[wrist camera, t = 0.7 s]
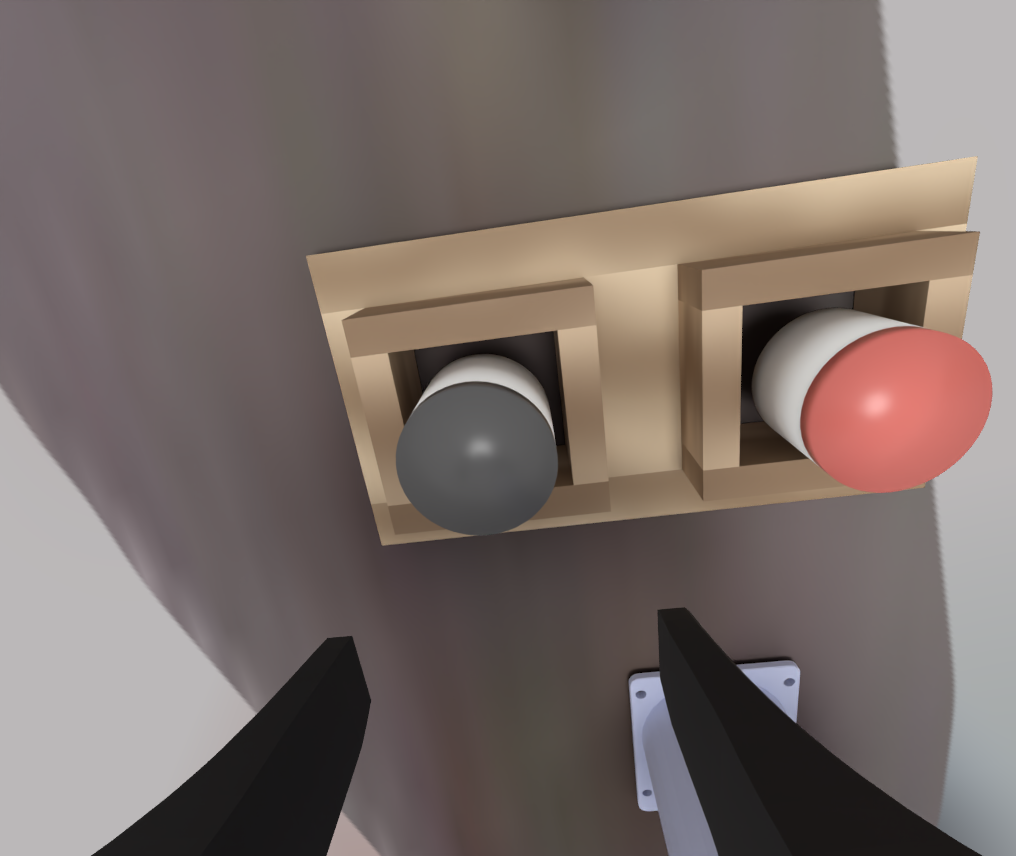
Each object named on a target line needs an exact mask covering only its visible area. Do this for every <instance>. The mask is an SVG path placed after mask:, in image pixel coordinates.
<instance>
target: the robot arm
mask: <svg viewBox="0 0 1016 856" xmlns="http://www.w3.org/2000/svg"><path fill="white" fill-rule="evenodd" d="M658 635H659V664H660V671H658V672H647V673H637V674H634V675H632V676H631V677H630V678H629V694H630V707H631V721H632V734H633V748H634V761H635V774H636V788H637V800H638V805H639V808H640V809H642V810H644V811H658V812H659V816H660V821H661V825H662V829H663V834H664V838H665V842H666V846H667V851H668V855H669V856H982V855H980V854H978V853H977V852H975V851H973V850H972V849H970V848H968V847H967V846H965V845H963V844H962V843H960V842H958V841H957V840H955V839H953V838H952V837H950V836H949V835H947V834H946V833H944V832H942V831H941V830H940V829H938V828H936V827H935V826H933V825H932V824H930V823H929V822H927V821H926V820H924V819H922V818H921V817H919V816H918V815H916V814H915V813H913V812H912V811H910V810H909V809H907V808H906V807H904V806H903V805H902V804H900V803H899V802H897V801H896V800H895V799H893V798H892V797H890V796H889V795H888V794H886V793H885V792H883V791H882V790H881V789H879V788H878V787H876V786H875V785H874V784H872V783H871V782H869V781H868V780H866V779H865V778H864V777H862V776H861V775H859V774H858V773H857V772H855V771H854V770H853V769H852V768H850V767H849V766H848V765H846V764H845V763H844V762H843V761H841V760H840V759H839V758H837V757H836V756H835V755H834V754H832V753H831V752H830V751H829V750H827V749H826V748H825V747H824V746H823V745H821V744H820V743H819V742H818V741H817V740H815V739H814V738H813V737H812V736H810V735H809V734H808V733H807V732H806V731H805V730H803V729H802V728H801V727H800V726H799V725H798V724H797V723H796V721H797V708H798V695H799V682H800V669H799V668H798V666H797V665H796V663H795V662H793V661H788V660H786V661H774V662H762V663H751V664H739V665H736V664H735V663H734V662H733V661H732V660H731V659H730V658H729V657H728V656H727V655H726V654H725V652H724V651H723V650H722V649H721V648H720V647H719V646H718V645H717V644H716V642H715V641H714V640H713V639H712V638H711V637H710V636H709V634H708V633H707V632H706V631H705V630H704V628H703V627H702V626H701V625H700V624H699V622H698V621H697V620H696V619H695V618H694V616H693V615H692V614H691V613H690V611H688V610H687V609H686V608H673V609H661V610H658ZM788 678H789V679H788ZM638 691H641V692H638ZM370 703H371V699H370V695H369V692H368V688H367V685H366V682H365V678H364V675H363V671H362V668H361V665H360V661H359V658H358V654H357V651H356V647H355V644H354V641H353V637H352V636H347V637H335V638H327V639H326V640H325V641H324V642H323V643H322V644H321V645H320V647H319V648H318V649H317V650H316V651H315V652H314V653H313V654H312V655H311V656H310V657H309V659H308V660H307V661H306V662H305V663H304V664H303V665H302V666H301V667H300V668H299V670H298V671H297V672H296V673H295V674H294V675H293V676H292V677H291V678H290V679H289V681H288V682H287V683H286V684H285V685H284V686H283V687H282V688H281V689H280V690H279V691H278V692H277V693H276V695H275V696H274V697H273V698H272V699H271V700H270V701H269V702H268V703H267V704H266V705H265V706H264V707H263V708H262V709H261V711H260V712H259V713H258V714H257V715H256V716H255V717H254V718H253V719H252V720H251V721H250V722H249V723H248V724H247V725H246V726H244V727H243V729H242V730H240V732H239V733H237V734H236V735H235V736H234V737H233V738H232V740H230V741H229V742H228V743H227V744H226V745H225V746H224V748H222V750H220V751H219V752H218V753H217V754H216V755H215V756H214V757H213V758H212V759H211V760H210V761H208V762H207V764H205V765H204V766H203V767H202V768H201V769H200V770H199V771H197V772H196V773H195V774H194V775H193V776H192V777H190V778H189V779H188V780H187V781H186V782H185V783H184V784H182V785H181V786H180V787H179V788H178V789H177V790H175V791H174V792H173V793H172V794H171V795H170V796H168V797H167V798H166V799H165V800H164V801H162V802H161V803H160V804H158V805H157V806H156V807H155V808H153V809H152V810H151V811H149V812H148V813H147V814H146V815H144V816H143V817H142V818H141V819H139V820H138V821H137V822H135V823H134V824H133V825H132V826H130V827H129V828H128V829H126V830H125V831H124V832H123V833H121V834H120V835H119V836H118V837H116V838H115V839H114V840H113V841H111V842H110V843H108V844H107V845H105V846H104V847H103V848H101V849H100V850H98V851H97V852H96V853H94V854H93V855H91V856H326V855H327V852H328V849H329V846H330V843H331V840H332V837H333V834H334V830H335V828H336V824H337V822H338V818H339V815H340V813H341V810H342V806H343V803H344V800H345V797H346V794H347V791H348V788H349V785H350V782H351V779H352V776H353V773H354V770H355V766H356V763H357V760H358V757H359V754H360V751H361V747H362V743H363V739H364V734H365V729H366V725H367V719H368V714H369V709H370Z"/></svg>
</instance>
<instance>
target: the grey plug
mask: <svg viewBox="0 0 1016 856" xmlns="http://www.w3.org/2000/svg"><path fill="white" fill-rule="evenodd" d="M396 469H397V475H398V478H399V482H400V485H401V487H402V489H403V491H404V493H405V495H406V496H407V498H408V499H409V501H410V502H411V503H412V505H413V506H414V507H415V508H416V509H417V510H418V511H419V512H420V513H421V514H422V515H423V516H424V517H426V518H427V519H429V520H430V521H431V522H433V523H435V524H437V525H438V526H440V527H443V528H445V529H447V530H450V531H453V532H457V533H461V534H466V535H478V536H480V535H492V534H498V533H502V532H505V531H509V530H511V529H513V528H516V527H518V526H520V525H521V524H523V523H525V522H526V521H528V520H529V519H530V518H532V517H533V516H534V515H535V514H536V513H537V512H538V511H539V510H540V509H541V508H542V507H543V505H544V504H545V503H546V502H547V500H548V498H549V496H550V495H551V493H552V490H553V488H554V485H555V482H556V478H557V471H558V455H557V449H556V443H555V437H554V430H553V424H552V418H551V411H550V406H549V401H548V398H547V395H546V393H545V391H544V389H543V387H542V385H541V384H540V382H539V381H538V379H537V378H536V377H535V376H534V375H533V374H532V373H531V372H530V371H529V370H528V369H527V368H525V367H524V366H522V365H521V364H519V363H518V362H515V361H513V360H511V359H509V358H506V357H503V356H499V355H493V354H475V355H470V356H465V357H462V358H460V359H457V360H455V361H453V362H451V363H449V364H448V365H446V366H445V367H444V368H442V369H441V370H440V371H439V372H438V373H437V374H436V375H435V376H434V378H433V379H432V380H431V382H430V383H429V385H428V386H427V388H426V390H425V391H424V393H423V395H422V397H421V398H420V400H419V402H418V404H417V405H416V407H415V409H414V410H413V412H412V414H411V416H410V417H409V419H408V421H407V422H406V424H405V426H404V428H403V430H402V432H401V434H400V437H399V440H398V444H397V449H396Z"/></svg>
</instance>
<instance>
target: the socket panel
mask: <svg viewBox="0 0 1016 856" xmlns="http://www.w3.org/2000/svg"><path fill="white" fill-rule="evenodd" d="M976 163H977V157H969V158H963V159H956V160H949V161H942V162H936V163H929V164H922V165H916V166H909V167H902V168H895V169H889V170H882V171H875V172H868V173H862V174H855V175H848V176H841V177H835V178H828V179H821V180H815V181H808V182H801V183H794V184H788V185H781V186H774V187H767V188H761V189H754V190H747V191H740V192H734V193H727V194H720V195H714V196H707V197H700V198H693V199H687V200H680V201H673V202H666V203H660V204H653V205H646V206H640V207H633V208H626V209H619V210H613V211H606V212H599V213H592V214H586V215H579V216H572V217H565V218H559V219H552V220H545V221H539V222H532V223H525V224H518V225H512V226H505V227H498V228H491V229H485V230H478V231H471V232H464V233H458V234H451V235H444V236H438V237H431V238H424V239H417V240H411V241H404V242H397V243H390V244H384V245H377V246H370V247H363V248H357V249H350V250H343V251H337V252H330V253H323V254H316V255H310V256H306V257H307V261H308V265H309V269H310V273H311V277H312V280H313V284H314V288H315V292H316V296H317V299H318V303H319V307H320V311H321V315H322V319H323V322H324V326H325V330H326V334H327V338H328V341H329V345H330V349H331V353H332V357H333V361H334V364H335V368H336V372H337V376H338V380H339V383H340V387H341V391H342V395H343V399H344V403H345V406H346V410H347V414H348V418H349V422H350V425H351V429H352V433H353V437H354V441H355V445H356V448H357V452H358V456H359V460H360V464H361V467H362V471H363V475H364V479H365V483H366V487H367V490H368V494H369V498H370V502H371V506H372V509H373V513H374V517H375V521H376V525H377V529H378V532H379V536H380V540H381V544H382V546H383V545H392V544H401V543H411V542H420V541H429V540H439V539H448V538H457V537H467V536H476V535H466V534H461V533H457V532H453V531H450V530H447V529H445V528H443V527H440V526H438V525H437V524H435V523H433V522H431V521H430V520H429V519H427V518H426V517H424V516H423V515H422V514H421V513H420V512H419V511H418V510H417V509H416V508H415V507H414V506H413V505H412V503H411V502H410V501H409V499H408V498H407V496H406V495H405V493H404V491H403V489H402V487H401V485H400V482H399V478H398V475H397V469H396V449H397V444H398V440H399V437H400V434H401V432H402V430H403V428H404V426H405V424H406V422H407V421H408V419H409V417H410V416H411V414H412V412H413V410H414V409H415V407H416V405H417V404H418V402H419V400H420V398H421V397H422V395H423V393H422V388H421V383H420V378H419V373H418V369H417V364H416V359H415V354H414V349H421V348H429V347H436V346H444V345H451V344H459V343H466V342H474V341H481V340H489V339H496V338H503V337H511V336H518V335H526V334H533V333H541V332H548V331H553V333H554V342H555V351H556V361H557V370H558V379H559V389H560V398H561V407H562V416H563V426H564V435H565V444H566V445H559V446H556V449H557V455H558V471H557V478H556V482H555V485H554V488H553V490H552V493H551V495H550V496H549V498H548V500H547V502H546V503H545V504H544V505H543V507H542V508H541V509H540V510H539V511H538V512H537V513H536V514H535V515H534V516H533V517H532V518H530V519H529V520H528V521H526V522H525V523H523V524H521V525H520V526H518V527H516V528H513V529H511V530H509V531H505V532H513V531H523V530H532V529H541V528H551V527H560V526H569V525H579V524H588V523H598V522H607V521H616V520H626V519H635V518H644V517H654V516H663V515H672V514H682V513H691V512H700V511H710V510H719V509H728V508H738V507H747V506H756V505H766V504H775V503H784V502H794V501H803V500H812V499H822V498H831V497H841V496H850V495H859V494H869V493H875V492H866V491H860V490H856V489H853V488H850V487H848V486H846V485H844V484H842V483H840V482H838V481H837V480H836V479H834V478H833V477H831V476H830V475H829V474H828V473H826V472H825V471H824V470H823V469H822V468H820V467H819V466H818V465H817V464H815V463H814V462H813V461H812V460H810V459H809V458H808V457H807V456H805V455H804V454H803V453H802V452H800V451H799V450H798V449H797V448H796V447H794V446H793V445H792V444H791V443H789V442H788V441H787V440H786V439H784V438H783V437H782V436H781V435H779V434H778V433H777V432H776V431H774V430H773V429H772V428H771V427H770V426H769V425H768V424H766V423H765V422H764V421H762V422H754V423H745V424H740V405H741V354H742V306H743V305H751V304H758V303H766V302H773V301H781V300H788V299H796V298H803V297H811V296H818V295H826V294H833V293H841V292H848V291H855V297H854V307H853V310H857V311H861V312H864V313H868V314H872V315H876V316H880V317H884V318H888V319H892V320H896V321H900V322H904V323H908V324H912V325H916V326H920V327H924V328H928V329H932V330H936V331H940V332H944V333H948V334H950V335H953V336H956V337H958V338H960V339H962V335H963V329H964V323H965V317H966V311H967V305H968V299H969V293H970V287H971V282H972V276H973V270H974V264H975V258H976V252H977V246H978V240H979V234H980V232H975V231H974V232H973V231H969V232H968V231H966V226H967V220H968V213H969V207H970V201H971V194H972V188H973V182H974V176H975V170H976ZM938 476H939V475H938ZM915 488H925V483H923V484H920V485H917V486H915V487H912V488H908V489H915ZM904 490H906V489H904ZM502 533H504V532H502Z"/></svg>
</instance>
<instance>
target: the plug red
mask: <svg viewBox="0 0 1016 856" xmlns="http://www.w3.org/2000/svg"><path fill="white" fill-rule="evenodd" d="M752 396H753V401H754V404H755V407H756V409H757V411H758V413H759V415H760V416H761V418H762V419H763V420H764V422H765V423H766V424H768V425H769V426H770V427H771V428H772V429H773V430H774V431H776V432H777V433H778V434H779V435H781V436H782V437H783V438H784V439H786V440H787V441H788V442H789V443H791V444H792V445H793V446H794V447H796V448H797V449H798V450H799V451H800V452H802V453H803V454H804V455H805V456H807V457H808V458H809V459H810V460H812V461H813V462H814V463H815V464H817V465H818V466H819V467H820V468H822V469H823V470H824V471H825V472H826V473H828V474H829V475H830V476H831V477H833V478H834V479H836V480H837V481H838V482H840V483H842V484H844V485H846V486H848V487H850V488H853V489H856V490H860V491H866V492H875V493H884V492H894V491H900V490H904V489H908V488H912V487H915V486H917V485H920V484H923V483H925V482H927V481H929V480H931V479H933V478H935V477H936V476H938V475H940V474H941V473H943V472H945V471H946V470H947V469H948V468H950V467H951V466H952V465H954V464H955V463H956V462H957V461H958V460H959V459H960V458H961V457H962V456H963V455H964V454H965V453H966V452H967V451H968V450H969V449H970V448H971V446H972V445H973V443H974V442H975V441H976V439H977V438H978V436H979V435H980V433H981V431H982V429H983V427H984V425H985V423H986V420H987V418H988V415H989V411H990V408H991V401H992V382H991V376H990V373H989V370H988V367H987V365H986V363H985V362H984V360H983V358H982V357H981V355H980V354H979V353H978V352H977V351H976V350H975V349H974V348H973V347H972V346H971V345H970V344H968V343H967V342H965V341H964V340H962V339H960V338H958V337H956V336H953V335H950V334H948V333H944V332H940V331H936V330H932V329H928V328H924V327H920V326H916V325H912V324H908V323H904V322H900V321H896V320H892V319H888V318H884V317H880V316H876V315H872V314H868V313H864V312H861V311H857V310H852V309H847V308H825V309H820V310H815V311H812V312H809V313H806V314H804V315H802V316H800V317H798V318H796V319H794V320H793V321H791V322H789V323H788V324H787V325H785V326H784V327H783V328H781V329H780V330H779V331H778V332H777V333H776V334H775V335H774V336H773V337H772V338H771V339H770V341H769V342H768V343H767V344H766V346H765V347H764V349H763V350H762V352H761V354H760V356H759V358H758V360H757V363H756V365H755V368H754V372H753V377H752Z"/></svg>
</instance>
